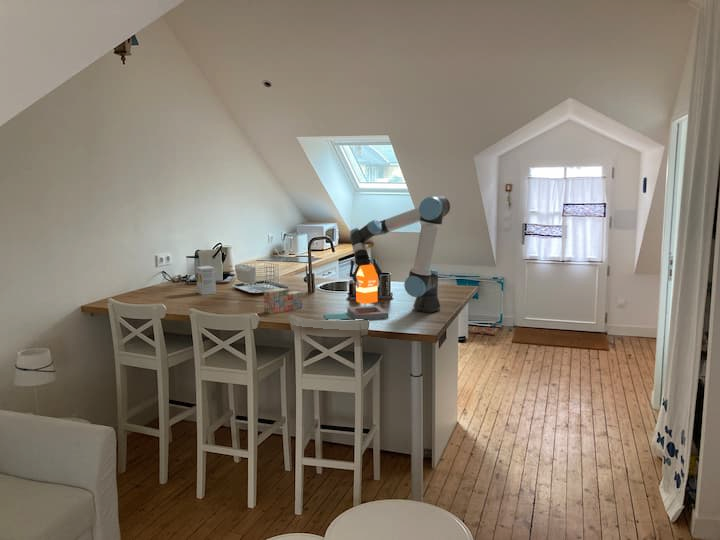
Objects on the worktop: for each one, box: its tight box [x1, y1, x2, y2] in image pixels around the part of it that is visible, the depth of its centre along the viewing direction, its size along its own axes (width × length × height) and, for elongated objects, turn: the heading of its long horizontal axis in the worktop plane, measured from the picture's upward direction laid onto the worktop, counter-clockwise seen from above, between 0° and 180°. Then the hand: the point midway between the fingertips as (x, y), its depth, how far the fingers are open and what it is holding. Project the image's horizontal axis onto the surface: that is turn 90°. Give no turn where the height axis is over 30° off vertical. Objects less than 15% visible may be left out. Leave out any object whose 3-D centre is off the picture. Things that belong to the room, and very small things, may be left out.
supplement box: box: [195, 265, 217, 296], centre depth 380 cm, size 10×9×17 cm
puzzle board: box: [346, 305, 389, 321], centre depth 321 cm, size 18×18×3 cm
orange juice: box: [355, 263, 378, 305], centre depth 318 cm, size 8×9×20 cm
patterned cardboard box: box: [263, 287, 303, 315], centre depth 333 cm, size 21×6×12 cm, turn 131°
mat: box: [323, 312, 351, 320], centre depth 317 cm, size 12×12×1 cm
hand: (368, 286), depth 316 cm, fingers closed on orange juice, 10 cm apart
